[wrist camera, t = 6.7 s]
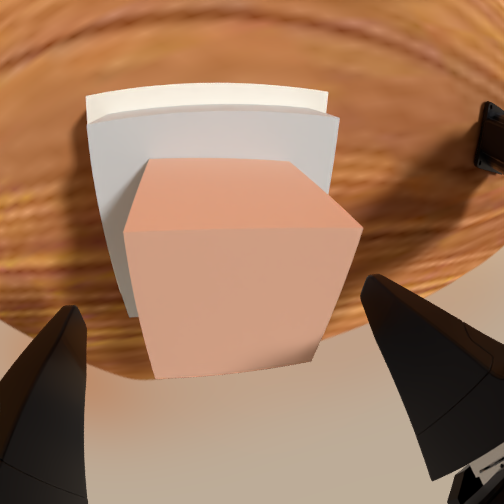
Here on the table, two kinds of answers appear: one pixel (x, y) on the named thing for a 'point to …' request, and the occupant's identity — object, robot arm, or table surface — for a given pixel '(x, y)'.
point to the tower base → (202, 98)
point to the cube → (234, 264)
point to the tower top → (197, 153)
